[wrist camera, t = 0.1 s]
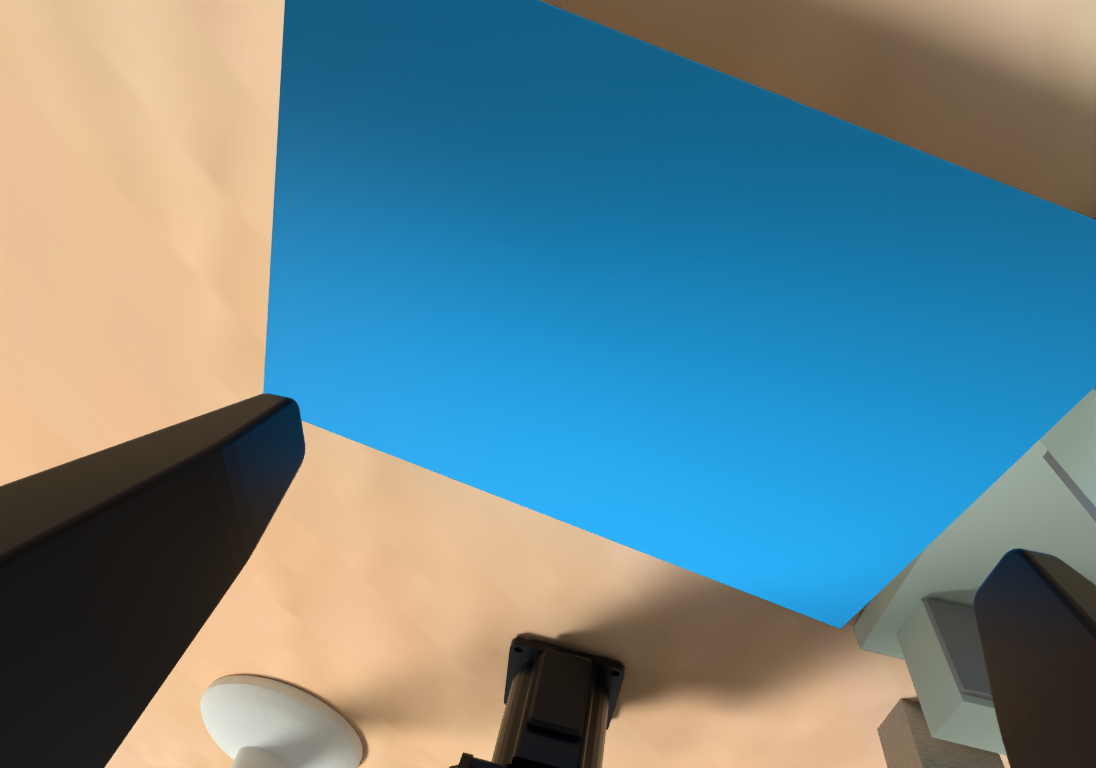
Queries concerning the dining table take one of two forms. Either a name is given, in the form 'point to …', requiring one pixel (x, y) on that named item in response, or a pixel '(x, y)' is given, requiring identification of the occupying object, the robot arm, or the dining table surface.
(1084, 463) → the jaw
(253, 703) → the candlestick
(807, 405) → the book
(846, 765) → the dining table surface
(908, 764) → the block
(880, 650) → the vise
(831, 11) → the dining table surface
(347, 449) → the dining table surface
